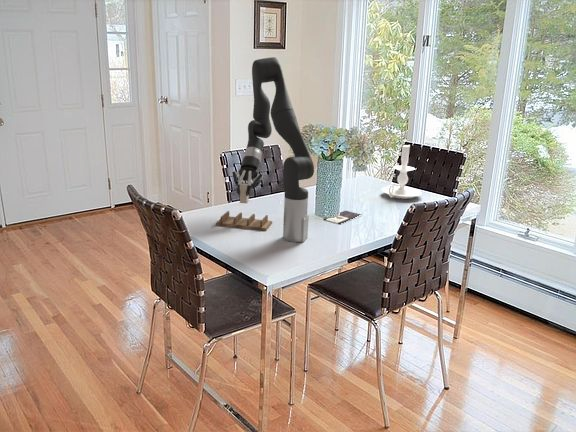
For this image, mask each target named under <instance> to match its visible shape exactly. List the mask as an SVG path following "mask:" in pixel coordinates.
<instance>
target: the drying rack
mask: <svg viewBox="0 0 576 432" xmlns="http://www.w3.org/2000/svg"><path fill="white" fill-rule="evenodd" d="M268 218H269V216H268V215H267V214H266V215H265V216H264V217H263V218H262V219H256V214H255V213H253V214H251V215H250V216H249V217H248V218H247V217H243V212H239V213H238V214H237V215H236V216H230V210H227V211H226V212H225V213H224V214H222V215H221V216H220V219H218V220H217V221H216V222H215V226H221V227H226V228H227V227H228V228H236V229H244V230H256V231H264V232H267V231H268V230H269V228H270V227H271V226H272V224H273V221H272V220H268Z"/></svg>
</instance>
